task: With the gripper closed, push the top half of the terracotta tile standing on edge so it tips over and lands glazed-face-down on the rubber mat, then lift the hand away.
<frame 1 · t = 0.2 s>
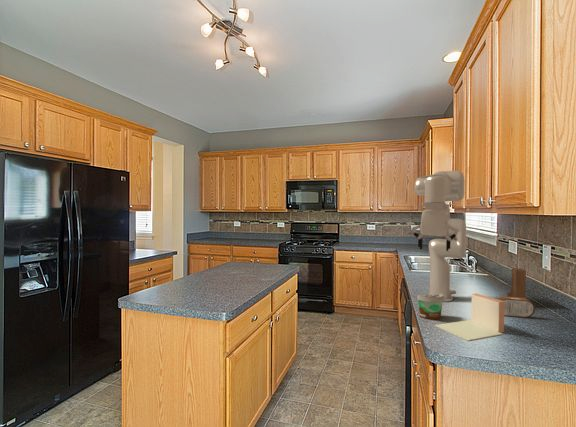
hand: (434, 249, 125), 31 cm above the worktop, tool pointing down, fingers open, 9 cm apart
food container: (433, 318, 135), on the worktop
wooden block: (515, 304, 156), on the worktop
tile: (486, 327, 125), on the worktop
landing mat: (467, 330, 122), on the worktop
tin: (514, 316, 138), on the worktop
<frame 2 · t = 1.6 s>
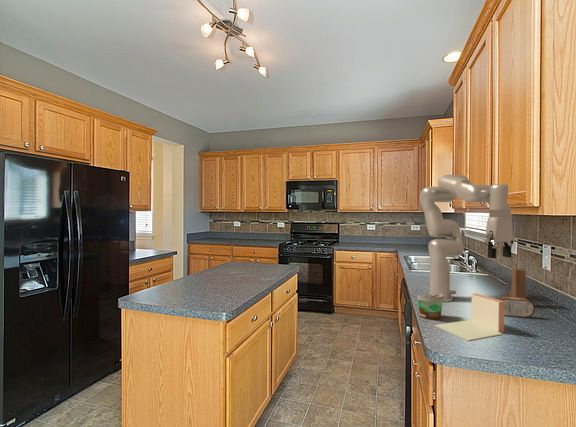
hand: (499, 257, 127), 28 cm above the worktop, tool pointing down, fingers open, 7 cm apart
nothing on the worktop moved.
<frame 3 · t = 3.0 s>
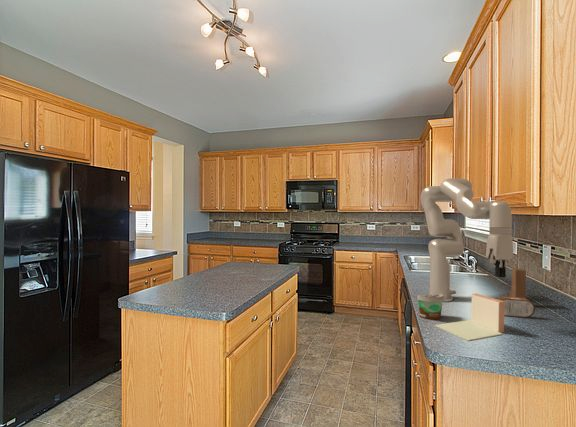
hand: (500, 276, 127), 20 cm above the worktop, tool pointing down, fingers closed
nothing on the worktop moved.
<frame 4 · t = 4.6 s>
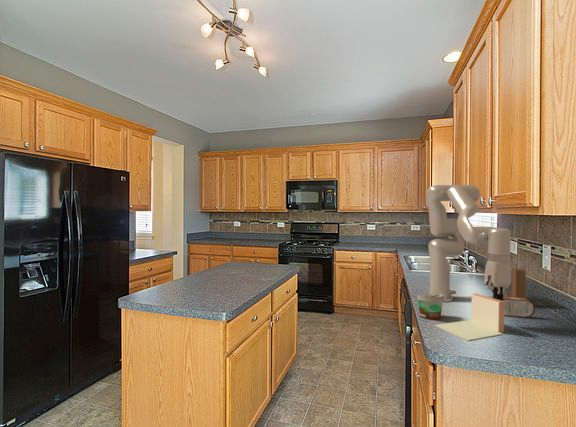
hand: (497, 302, 127), 9 cm above the worktop, tool pointing down, fingers closed
nothing on the worktop moved.
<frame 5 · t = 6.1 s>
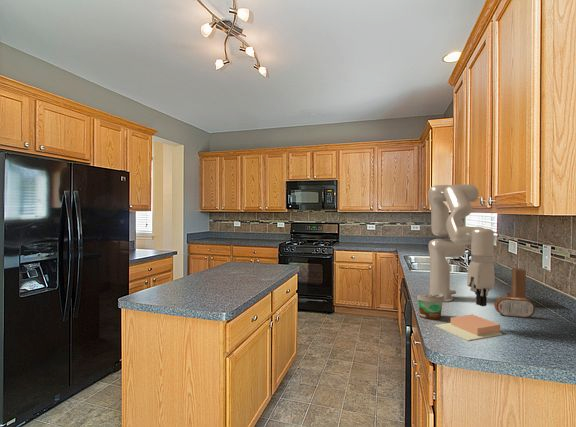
hand: (481, 305, 124), 9 cm above the worktop, tool pointing down, fingers closed
tile: (485, 322, 125), point 2 cm above the worktop, tilted 90°, touching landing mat
everything else where it was.
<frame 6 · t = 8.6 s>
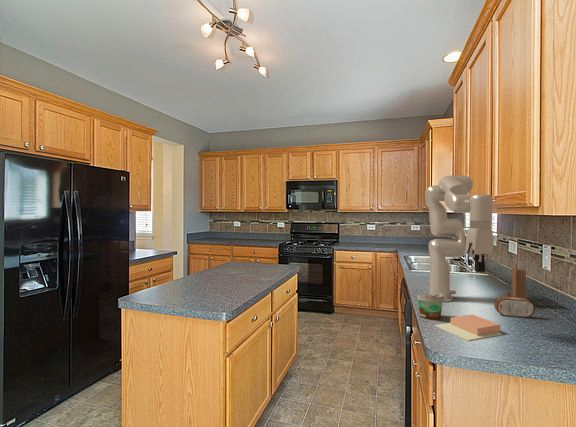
hand: (479, 271, 123), 23 cm above the worktop, tool pointing down, fingers closed
nothing on the worktop moved.
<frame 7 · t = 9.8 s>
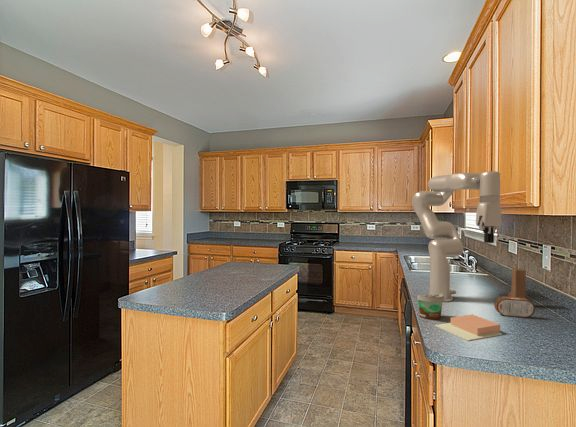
hand: (488, 242, 134), 33 cm above the worktop, tool pointing down, fingers closed
nothing on the worktop moved.
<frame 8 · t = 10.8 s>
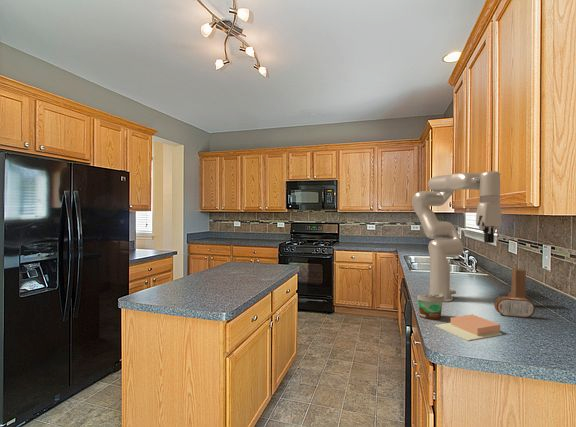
hand: (488, 242, 134), 33 cm above the worktop, tool pointing down, fingers closed
nothing on the worktop moved.
at the end: tile tilted 90°; tile touching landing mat; tile inside the target area (1.7 cm from its centre), point 1.9 cm above the worktop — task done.
